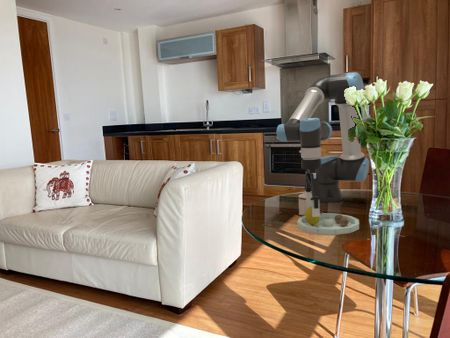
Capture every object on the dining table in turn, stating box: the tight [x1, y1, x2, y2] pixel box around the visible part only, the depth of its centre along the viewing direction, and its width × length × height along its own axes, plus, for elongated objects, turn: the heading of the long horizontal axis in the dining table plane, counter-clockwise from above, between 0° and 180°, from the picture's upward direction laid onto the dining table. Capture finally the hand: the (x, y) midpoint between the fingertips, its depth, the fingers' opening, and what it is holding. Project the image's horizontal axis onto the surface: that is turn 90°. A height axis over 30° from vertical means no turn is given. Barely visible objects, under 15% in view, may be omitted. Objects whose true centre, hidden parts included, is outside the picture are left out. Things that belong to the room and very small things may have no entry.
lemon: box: [304, 206, 320, 226], centre depth 143 cm, size 6×6×8 cm
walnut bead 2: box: [339, 217, 349, 226], centre depth 141 cm, size 4×4×4 cm
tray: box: [296, 212, 360, 236], centre depth 143 cm, size 23×23×4 cm
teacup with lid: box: [297, 191, 308, 216], centre depth 164 cm, size 12×9×12 cm
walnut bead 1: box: [335, 213, 343, 223], centre depth 145 cm, size 4×4×4 cm
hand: (312, 211), depth 143 cm, fingers open, 13 cm apart
